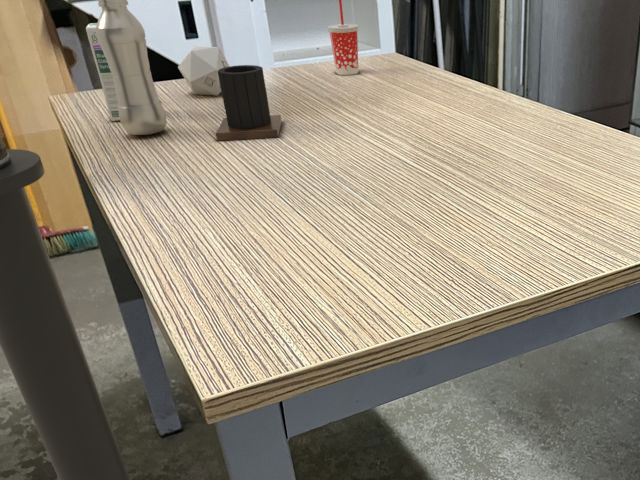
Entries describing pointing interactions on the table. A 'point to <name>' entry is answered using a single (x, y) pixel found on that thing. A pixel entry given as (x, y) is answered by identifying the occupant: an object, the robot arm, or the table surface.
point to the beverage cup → (344, 46)
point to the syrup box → (103, 73)
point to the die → (203, 70)
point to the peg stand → (249, 130)
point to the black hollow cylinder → (244, 96)
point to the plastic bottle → (129, 68)
